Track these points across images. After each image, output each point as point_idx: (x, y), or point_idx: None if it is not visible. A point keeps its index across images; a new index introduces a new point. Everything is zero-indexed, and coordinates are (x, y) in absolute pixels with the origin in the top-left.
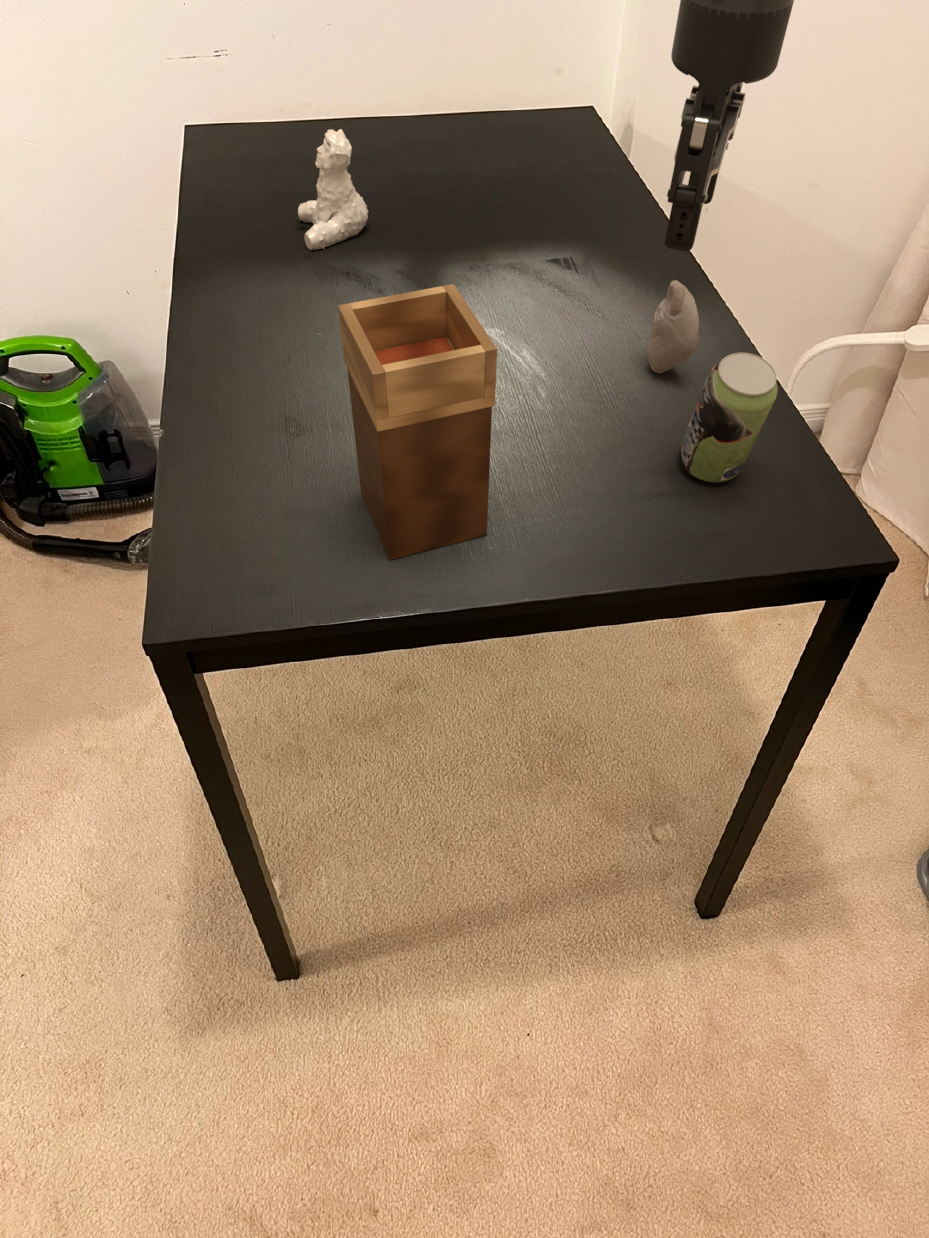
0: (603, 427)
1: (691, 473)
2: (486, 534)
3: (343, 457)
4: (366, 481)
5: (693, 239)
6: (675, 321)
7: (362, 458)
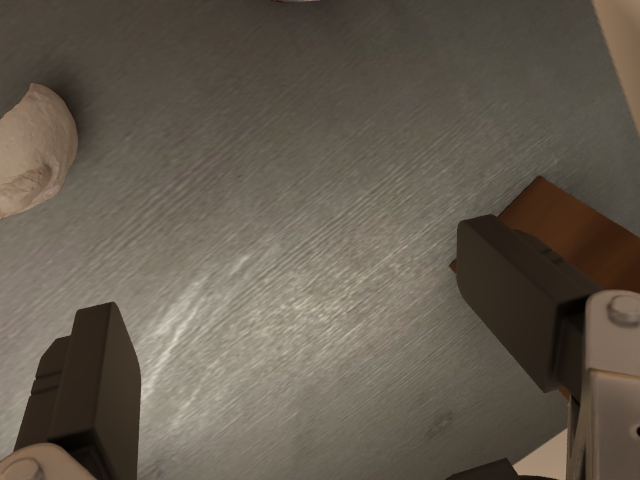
0: (270, 147)
1: None
2: (540, 176)
3: (466, 364)
4: None
5: (509, 229)
6: (58, 158)
7: None
